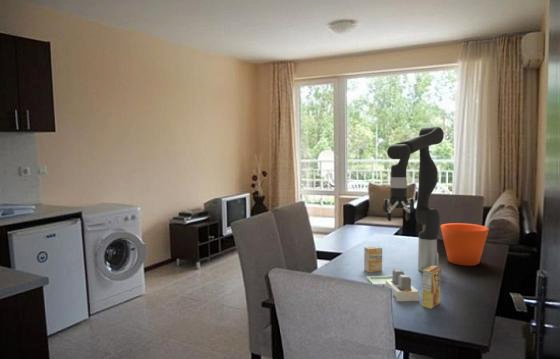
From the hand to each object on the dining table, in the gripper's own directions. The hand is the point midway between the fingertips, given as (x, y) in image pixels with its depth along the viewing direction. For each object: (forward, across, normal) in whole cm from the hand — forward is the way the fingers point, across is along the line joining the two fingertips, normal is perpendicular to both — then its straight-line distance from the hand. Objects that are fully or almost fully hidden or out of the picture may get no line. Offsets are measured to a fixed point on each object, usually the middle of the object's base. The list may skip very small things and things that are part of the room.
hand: (398, 220), depth 195 cm
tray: (+30, +7, +1) cm, 31 cm away
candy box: (+30, -4, +29) cm, 42 cm away
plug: (+29, +4, +12) cm, 32 cm away
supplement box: (+30, +7, -18) cm, 36 cm away
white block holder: (+30, +4, +16) cm, 34 cm away
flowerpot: (+30, -49, -33) cm, 66 cm away
